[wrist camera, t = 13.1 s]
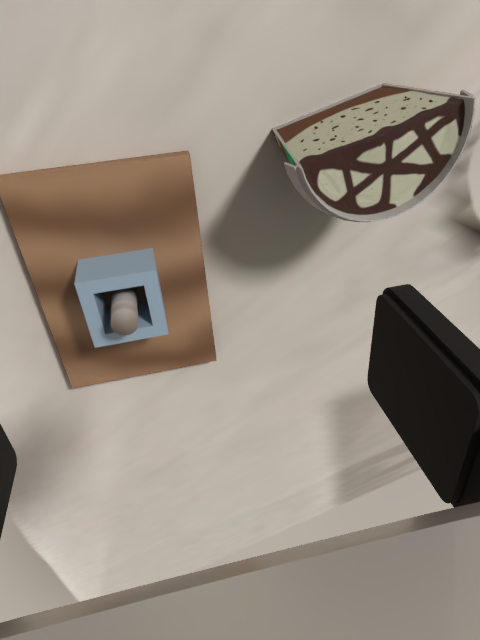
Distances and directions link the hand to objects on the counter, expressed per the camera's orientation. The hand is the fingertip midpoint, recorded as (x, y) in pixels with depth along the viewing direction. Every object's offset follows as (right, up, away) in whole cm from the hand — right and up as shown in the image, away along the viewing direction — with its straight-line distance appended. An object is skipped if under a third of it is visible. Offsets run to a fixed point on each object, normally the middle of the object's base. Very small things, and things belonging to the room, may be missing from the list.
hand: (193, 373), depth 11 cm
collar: (-9, +4, +28) cm, 30 cm away
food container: (+9, +16, +27) cm, 32 cm away
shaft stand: (-9, +5, +29) cm, 31 cm away
